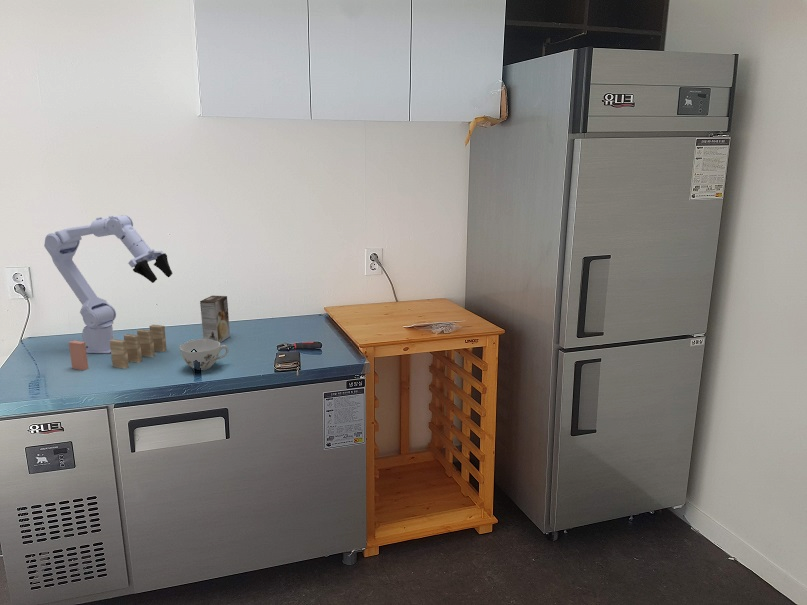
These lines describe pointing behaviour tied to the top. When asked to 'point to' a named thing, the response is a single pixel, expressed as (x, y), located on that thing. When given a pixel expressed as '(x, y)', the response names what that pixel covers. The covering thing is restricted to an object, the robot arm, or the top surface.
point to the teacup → (202, 352)
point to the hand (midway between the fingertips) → (162, 278)
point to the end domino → (78, 355)
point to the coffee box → (215, 318)
